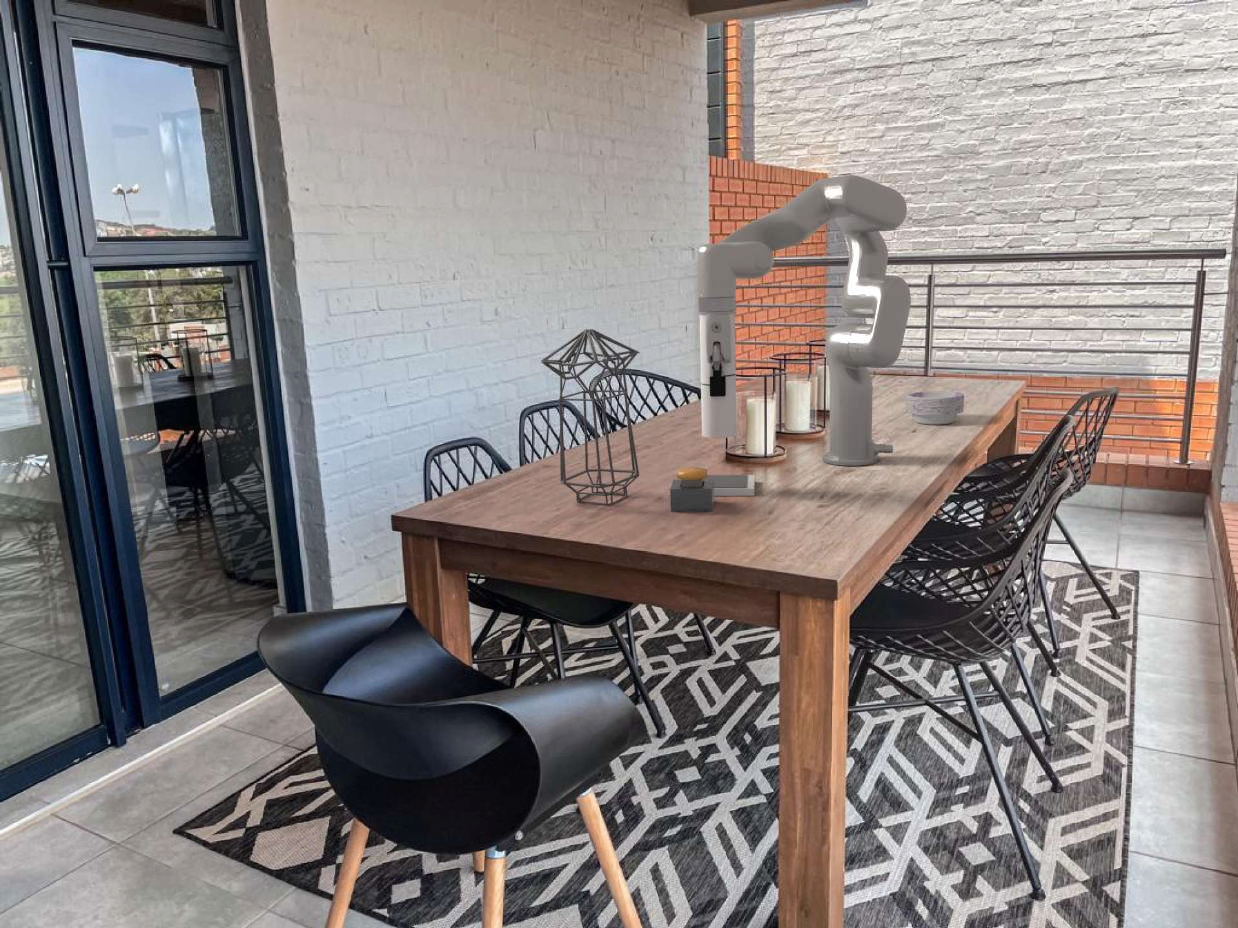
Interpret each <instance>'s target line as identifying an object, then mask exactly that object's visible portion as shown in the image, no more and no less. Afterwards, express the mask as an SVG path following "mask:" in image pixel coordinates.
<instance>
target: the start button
mask: <svg viewBox="0 0 1238 928" xmlns="http://www.w3.org/2000/svg"><path fill="white" fill-rule="evenodd" d="M707 475H708V469H707V468H704V467H696V466H692V467H683V468H679V469H677V470H676V479H681V487H703V479H704V478H707Z"/></svg>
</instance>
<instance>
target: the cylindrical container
mask: <svg viewBox="0 0 1238 928" xmlns="http://www.w3.org/2000/svg"><path fill="white" fill-rule="evenodd" d="M729 315H730V323H731V355H732V361H731V362H730V363H728V361H725V360H724V376H726V396H724V397H711V396H710V377H711V375H710V369H711V364H710V363H708V362H707V354H706V339H705V318H706V315H701V314H699V342H700V343H699V347H700V348H699V351H700V353H699V355H700V396H701V397H700V399H701V401H700V402H701V403H700V406H701V436H702V437H704V438H711V439H727V438H732V437H736V436H737V377H736V376H737V370H736V363H737V362H736V357H737V356H736V313H733V314H729ZM717 327H718V326H716V327H715V328H717ZM717 329H718V328H717ZM711 356H712V361H713V356H714V353H712V355H711ZM711 356H710V360H711ZM722 356H723V355H722V353H721V347H720V361H722ZM710 362H711V361H710ZM721 366H722V365H721ZM721 373H722V369H721Z"/></svg>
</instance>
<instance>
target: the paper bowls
mask: <svg viewBox="0 0 1238 928" xmlns="http://www.w3.org/2000/svg"><path fill="white" fill-rule="evenodd" d="M964 402H965V395H964V393H962V392H958V391H957V392H956V391H947V390H946V391H945V390H929V391H928V390H927V391H916V392H911V393H907V394H906V395H905V410H906V411H905V412H906V413H908V414H911V415H912V417H913V420H914V421H915V423H918V424H920V425H921V424H922V425H934V426H939V425H949V424H952V423H954V421H955V420H956V418H957V416H958V415H959V414H962V413H963V412H964V408H965V403H964Z"/></svg>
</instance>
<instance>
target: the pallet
mask: <svg viewBox="0 0 1238 928" xmlns="http://www.w3.org/2000/svg"><path fill="white" fill-rule="evenodd" d="M704 479H714V497H744V496H745V497H747V496H748V497H754V496H755V474H707V478H704Z"/></svg>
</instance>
